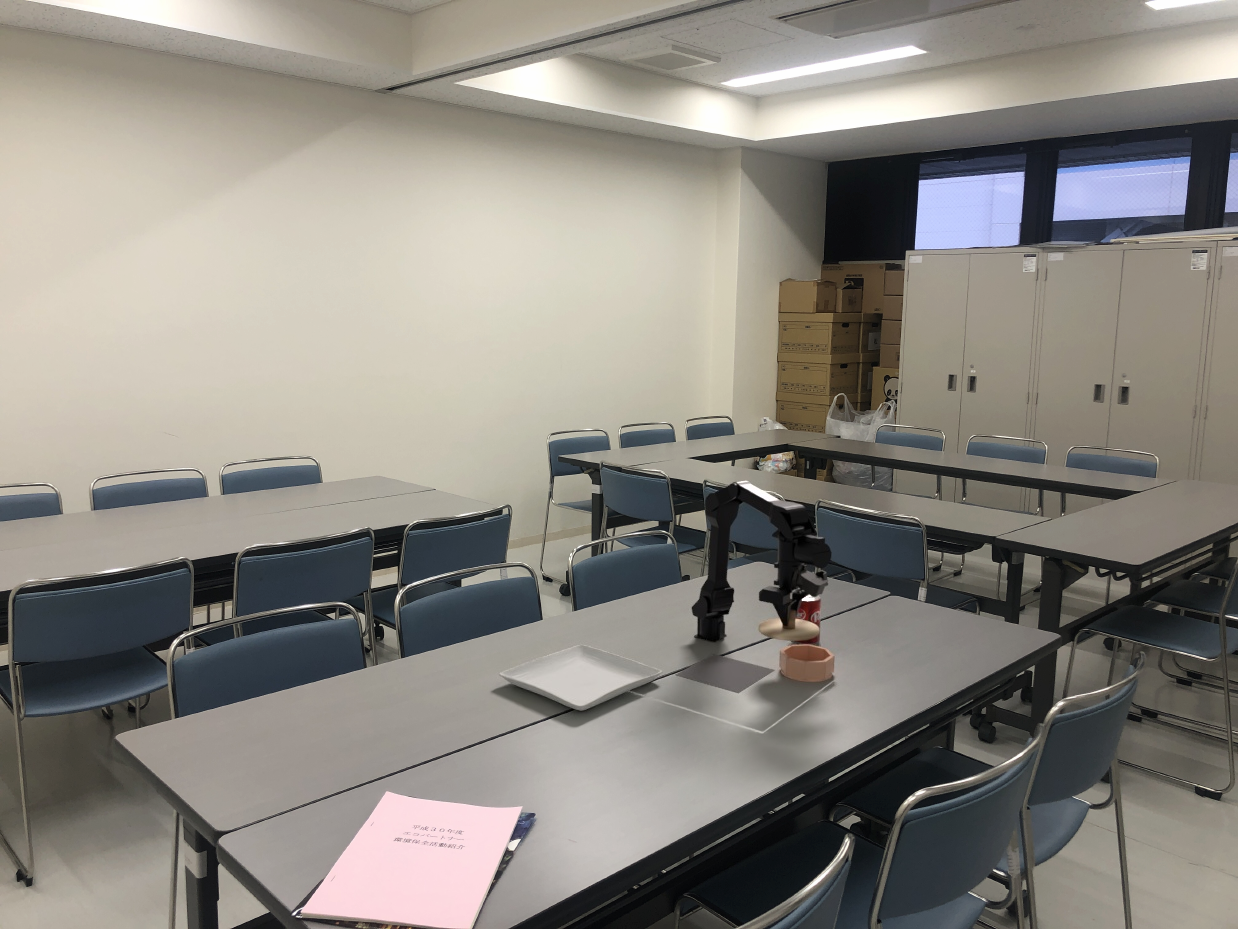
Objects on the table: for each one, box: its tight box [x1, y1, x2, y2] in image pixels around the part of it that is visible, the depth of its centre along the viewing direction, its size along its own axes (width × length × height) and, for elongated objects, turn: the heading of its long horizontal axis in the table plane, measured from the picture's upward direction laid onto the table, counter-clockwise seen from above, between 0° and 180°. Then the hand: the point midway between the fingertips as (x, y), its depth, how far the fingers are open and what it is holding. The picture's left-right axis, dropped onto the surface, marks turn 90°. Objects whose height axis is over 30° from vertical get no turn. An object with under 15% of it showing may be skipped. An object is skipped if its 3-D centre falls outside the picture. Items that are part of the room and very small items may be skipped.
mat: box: [675, 653, 775, 694], centre depth 211 cm, size 17×17×1 cm
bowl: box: [778, 644, 835, 683], centre depth 211 cm, size 12×12×5 cm
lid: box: [757, 609, 819, 642], centre depth 209 cm, size 14×14×5 cm
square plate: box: [498, 644, 663, 712], centre depth 205 cm, size 27×27×4 cm
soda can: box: [793, 595, 822, 646], centre depth 232 cm, size 7×7×12 cm
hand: (788, 624), depth 209 cm, fingers closed on lid, 3 cm apart
